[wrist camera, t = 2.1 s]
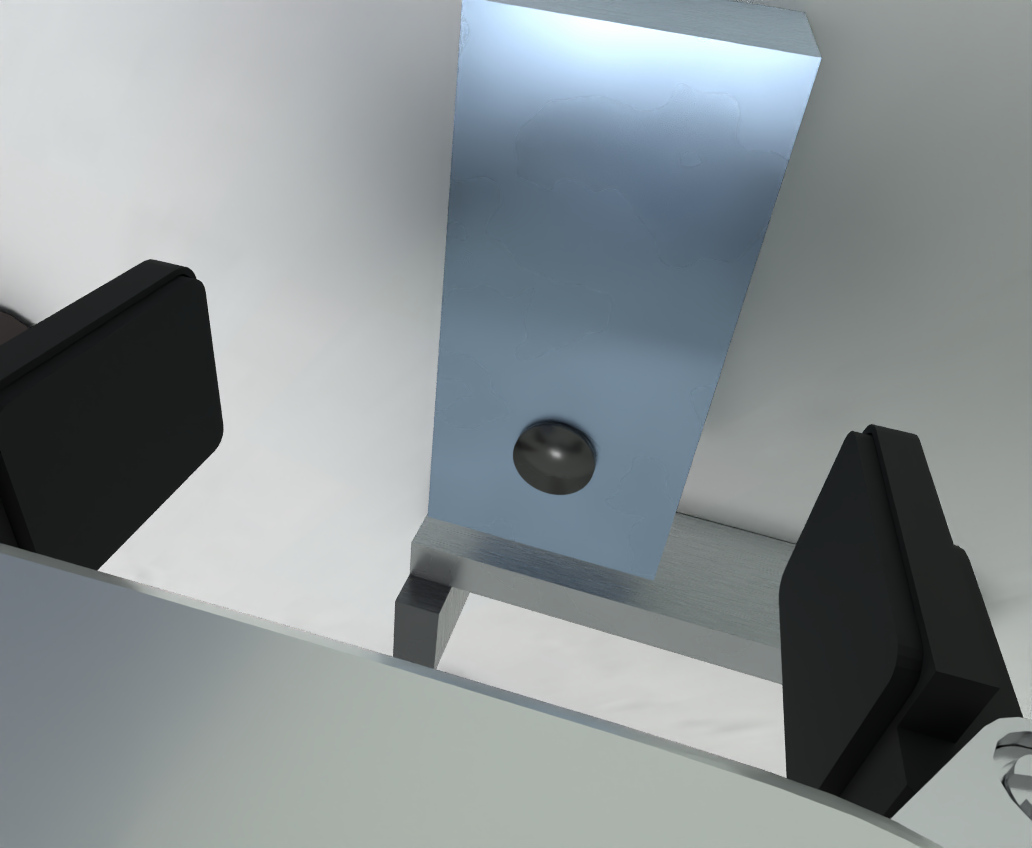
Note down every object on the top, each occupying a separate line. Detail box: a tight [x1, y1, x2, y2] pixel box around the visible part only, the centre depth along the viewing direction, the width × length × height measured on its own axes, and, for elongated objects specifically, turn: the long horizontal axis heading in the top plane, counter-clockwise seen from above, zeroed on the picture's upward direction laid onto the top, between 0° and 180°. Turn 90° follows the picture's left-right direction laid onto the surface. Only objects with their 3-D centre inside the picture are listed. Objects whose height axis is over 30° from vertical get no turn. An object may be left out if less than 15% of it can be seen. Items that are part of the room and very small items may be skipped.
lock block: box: [428, 0, 822, 581], centre depth 16 cm, size 5×10×6 cm, turn 173°
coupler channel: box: [393, 513, 796, 684], centre depth 24 cm, size 15×14×5 cm
